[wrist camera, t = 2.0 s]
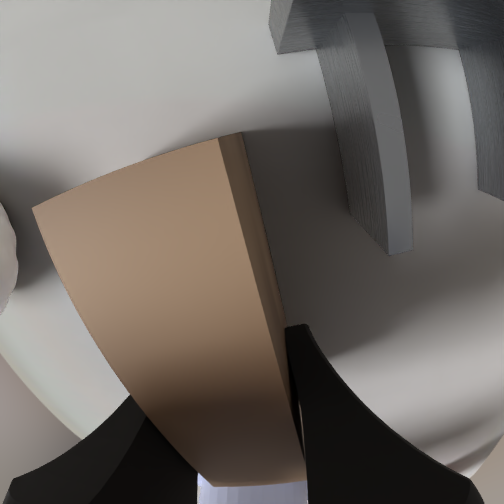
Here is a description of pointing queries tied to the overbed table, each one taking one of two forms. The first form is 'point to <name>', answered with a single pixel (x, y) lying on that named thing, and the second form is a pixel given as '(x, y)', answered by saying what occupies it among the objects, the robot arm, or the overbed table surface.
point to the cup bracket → (384, 93)
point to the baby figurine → (7, 259)
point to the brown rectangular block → (186, 306)
